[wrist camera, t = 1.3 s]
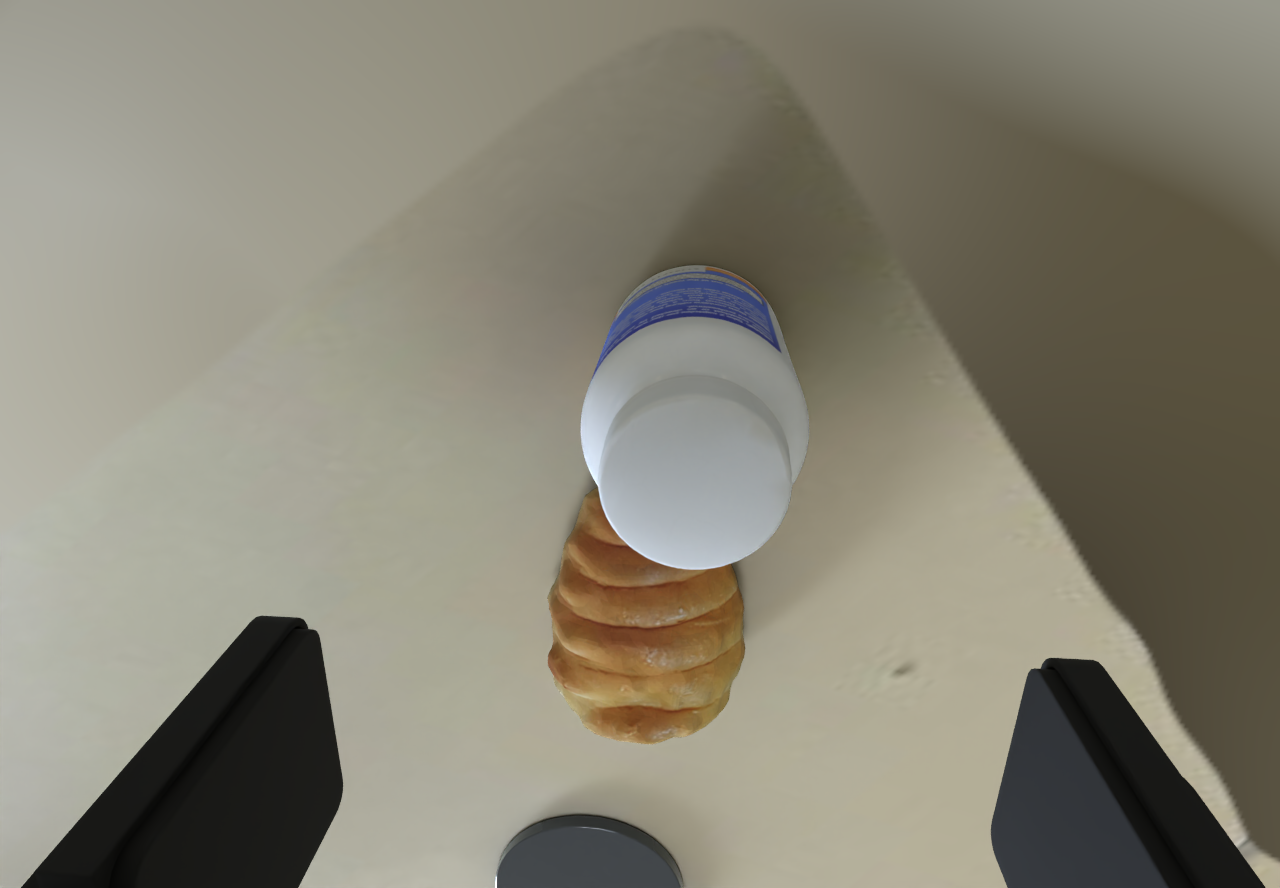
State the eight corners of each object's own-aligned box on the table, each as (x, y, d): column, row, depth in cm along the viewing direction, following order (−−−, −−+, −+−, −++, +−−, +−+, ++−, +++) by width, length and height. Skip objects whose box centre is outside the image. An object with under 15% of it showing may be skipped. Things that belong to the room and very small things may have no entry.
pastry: (548, 451, 27) (525, 504, 24) (752, 456, 27) (760, 511, 23) (560, 678, 31) (542, 753, 27) (739, 686, 30) (744, 763, 27)
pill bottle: (576, 322, 25) (503, 446, 16) (726, 225, 24) (736, 305, 15) (670, 458, 27) (650, 639, 18) (816, 376, 25) (873, 529, 17)
